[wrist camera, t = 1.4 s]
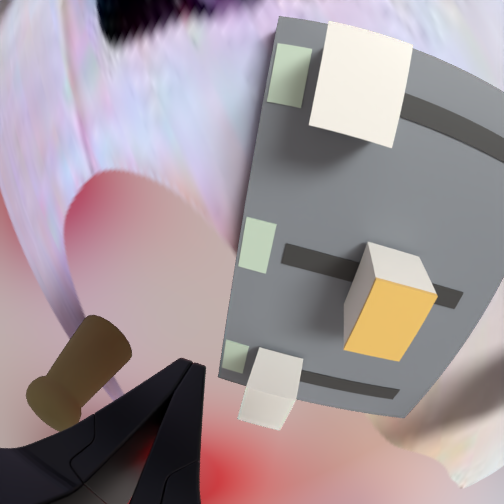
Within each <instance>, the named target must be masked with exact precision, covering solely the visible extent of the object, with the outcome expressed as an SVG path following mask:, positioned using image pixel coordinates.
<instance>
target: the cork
mask: <svg viewBox="0 0 504 504" xmlns="http://www.w3.org/2000/svg"><path fill="white" fill-rule="evenodd" d="M131 357H132V350H131V347H130V344H129V342H128V341H127V339H126V337H125V336H124V335H123V334H122V332H121V331H119V329H118V328H117V327H116V326H114V325H113V324H112V323H111V322H109V321H108V320H106V319H104V318H102V317H100V316H96V315H89V316H87V317H86V318H85V319H84V320H83V322H82V323H81V325H80V326H79V327H78V329H77V330H76V332H75V333H74V335H73V336H72V337H71V339H70V340H69V342H68V343H67V345H66V346H65V348H64V349H63V351H62V352H61V354H60V355H59V357H58V358H57V360H56V361H55V363H54V364H53V366H52V367H51V369H50V370H49V372H48V373H47V375H46V376H42V377H39V378H37V379H35V380H34V381H32V383H31V384H30V385H29V387H28V389H27V392H26V399H27V402H28V404H29V406H30V407H31V408H32V410H33V411H34V412H35V414H36V415H37V416H38V417H39V418H40V419H41V420H42V421H44V422H45V423H46V424H47V425H49V426H51V427H52V428H54V429H55V430H57V431H59V432H61V431H63V430H65V429H67V428H69V427H71V426H73V425H75V424H77V423H79V419H80V417H81V407H83V406H84V405H85V404H86V403H87V402H88V401H89V400H90V399H91V397H93V396H94V395H95V393H97V391H99V390H100V389H101V388H102V387H103V386H104V385H105V384H106V383H107V382H108V381H109V380H110V379H111V378H112V377H113V376H114V375H115V374H116V373H117V372H118V371H119V370H120V369H121V368H122V367H123V366H124V365H125V364H126V363H127V362H128V361H129V360H130V358H131Z"/></svg>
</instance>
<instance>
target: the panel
mask: <svg viewBox="0 0 504 504" xmlns="http://www.w3.org/2000/svg"><path fill="white" fill-rule="evenodd" d="M327 28H328V24H325V23H320V22H315V21H309V20H303V19H297V18H290V17H282V16H279V19H278V24H277V29H276V34H275V40H274V45H273V50H272V56H271V61H270V66H269V72H268V77H267V83H266V88H265V93H264V99H263V105H262V110H261V116H260V121H259V127H258V133H257V138H256V144H255V150H254V155H253V161H252V167H251V173H250V179H249V185H248V190H247V196H246V202H245V208H244V214H243V220H242V226H241V232H240V238H239V245H238V251H237V257H236V263H235V270H234V276H233V282H232V289H231V295H230V301H229V307H228V314H227V320H226V327H225V334H224V340H223V347H222V353H221V360H220V367H219V374H218V377H219V378H222V379H225V380H228V381H231V382H235V383H238V384H241V385H244V386H246V385H247V383H248V380H249V377H250V374H251V371H252V368H253V365H254V362H255V359H256V356H257V353H258V350H259V347H261V348H264V349H268V350H271V351H275V352H279V353H283V354H286V355H290V356H294V357H298V358H302V359H303V364H302V370H301V376H300V381H299V387H298V392H297V398H296V399H297V400H302V401H306V402H310V403H315V404H320V405H325V406H329V407H335V408H340V409H346V410H351V411H357V412H363V413H369V414H376V415H383V416H390V417H398V418H405V417H406V416H407V415H408V413H409V412H410V411H411V410H412V409H413V408H414V407H415V406H416V405H417V403H418V402H419V401H420V400H421V399H422V398H423V397H424V395H425V394H426V393H427V392H428V391H429V389H430V388H431V387H432V386H433V385H434V383H435V382H436V381H437V380H438V378H439V377H440V376H441V375H442V373H443V372H444V371H445V369H446V368H447V367H448V365H449V364H450V363H451V361H452V360H453V359H454V357H455V356H456V354H457V353H458V352H459V350H460V349H461V347H462V346H463V344H464V343H465V342H466V340H467V339H468V337H469V336H470V334H471V333H472V331H473V329H474V328H475V326H476V325H477V323H478V322H479V320H480V318H481V317H482V315H483V313H484V312H485V310H486V308H487V307H488V305H489V303H490V301H491V300H492V298H493V296H494V294H495V292H496V291H497V289H498V287H499V285H500V283H501V281H502V279H503V277H504V92H503V91H501V90H499V89H498V88H496V87H494V86H493V85H491V84H489V83H487V82H485V81H484V80H482V79H480V78H478V77H476V76H474V75H472V74H470V73H468V72H466V71H464V70H462V69H460V68H458V67H456V66H454V65H452V64H449V63H447V62H445V61H443V60H440V59H438V58H436V57H433V56H431V55H429V54H426V53H424V52H421V51H418V50H416V49H412V55H411V61H410V67H409V73H408V78H407V84H406V89H405V94H404V99H403V103H402V108H401V112H400V117H399V121H398V125H397V130H396V134H395V138H394V142H393V146H392V148H389V147H386V146H383V145H380V144H376V143H373V142H370V141H367V140H363V139H360V138H356V137H353V136H349V135H346V134H342V133H338V132H335V131H331V130H327V129H323V128H319V127H315V126H310V125H309V121H310V116H311V111H312V106H313V101H314V96H315V91H316V86H317V81H318V76H319V71H320V66H321V60H322V55H323V50H324V44H325V39H326V33H327ZM367 242H371V243H375V244H378V245H382V246H385V247H388V248H392V249H395V250H399V251H402V252H405V253H409V254H412V255H415V256H418V257H419V258H420V260H421V262H422V264H423V266H424V268H425V270H426V272H427V274H428V276H429V278H430V280H431V283H432V285H433V287H434V289H435V291H436V294H437V296H438V297H437V299H436V301H435V303H434V304H433V306H432V308H431V310H430V312H429V314H428V315H427V317H426V319H425V321H424V322H423V324H422V326H421V327H420V329H419V331H418V332H417V334H416V336H415V337H414V339H413V341H412V342H411V344H410V345H409V347H408V349H407V350H406V352H405V353H404V355H403V356H402V358H401V359H400V361H399V362H398V361H393V360H388V359H383V358H378V357H374V356H369V355H364V354H360V353H355V352H351V351H346V350H343V349H344V302H345V300H346V297H347V295H348V292H349V290H350V287H351V285H352V282H353V280H354V277H355V275H356V272H357V269H358V267H359V264H360V261H361V259H362V256H363V253H364V251H365V248H366V245H367Z"/></svg>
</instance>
